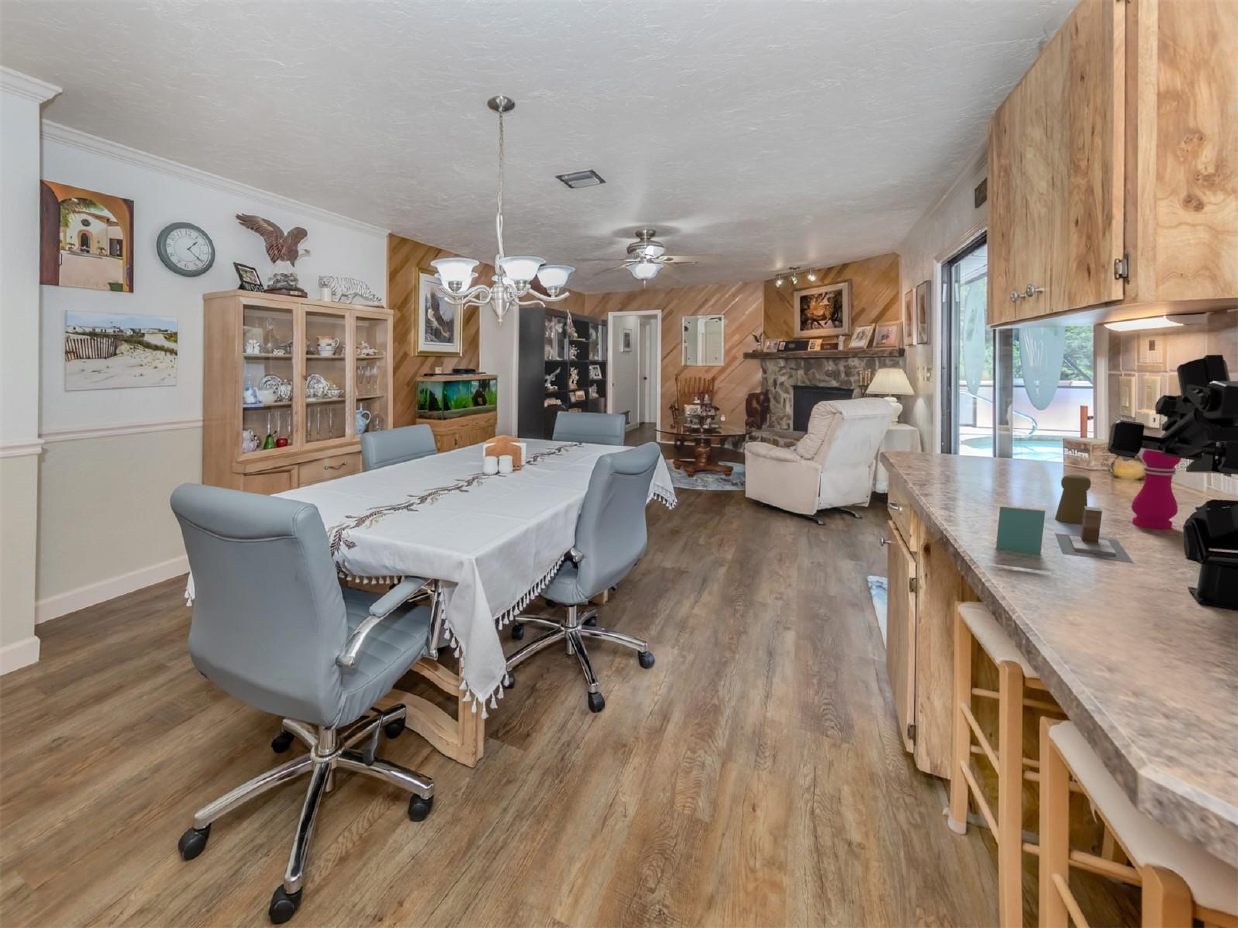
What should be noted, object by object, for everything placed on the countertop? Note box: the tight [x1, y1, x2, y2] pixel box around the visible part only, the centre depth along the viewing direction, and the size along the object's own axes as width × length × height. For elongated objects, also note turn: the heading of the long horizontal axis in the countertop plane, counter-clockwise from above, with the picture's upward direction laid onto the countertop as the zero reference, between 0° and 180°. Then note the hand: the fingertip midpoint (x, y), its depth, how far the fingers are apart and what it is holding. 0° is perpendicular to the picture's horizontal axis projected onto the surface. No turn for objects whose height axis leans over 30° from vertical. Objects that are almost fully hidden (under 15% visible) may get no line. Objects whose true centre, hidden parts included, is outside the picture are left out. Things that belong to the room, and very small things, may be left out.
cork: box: [1054, 474, 1092, 525], centre depth 125 cm, size 6×6×11 cm
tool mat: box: [1054, 532, 1134, 564], centre depth 108 cm, size 15×10×1 cm, turn 146°
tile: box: [995, 505, 1046, 555], centre depth 106 cm, size 1×7×9 cm, turn 56°
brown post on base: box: [1069, 506, 1116, 556], centre depth 107 cm, size 9×6×7 cm, turn 146°
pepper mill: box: [1131, 449, 1182, 531], centre depth 119 cm, size 7×7×20 cm
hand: (1155, 464), depth 104 cm, fingers open, 9 cm apart
